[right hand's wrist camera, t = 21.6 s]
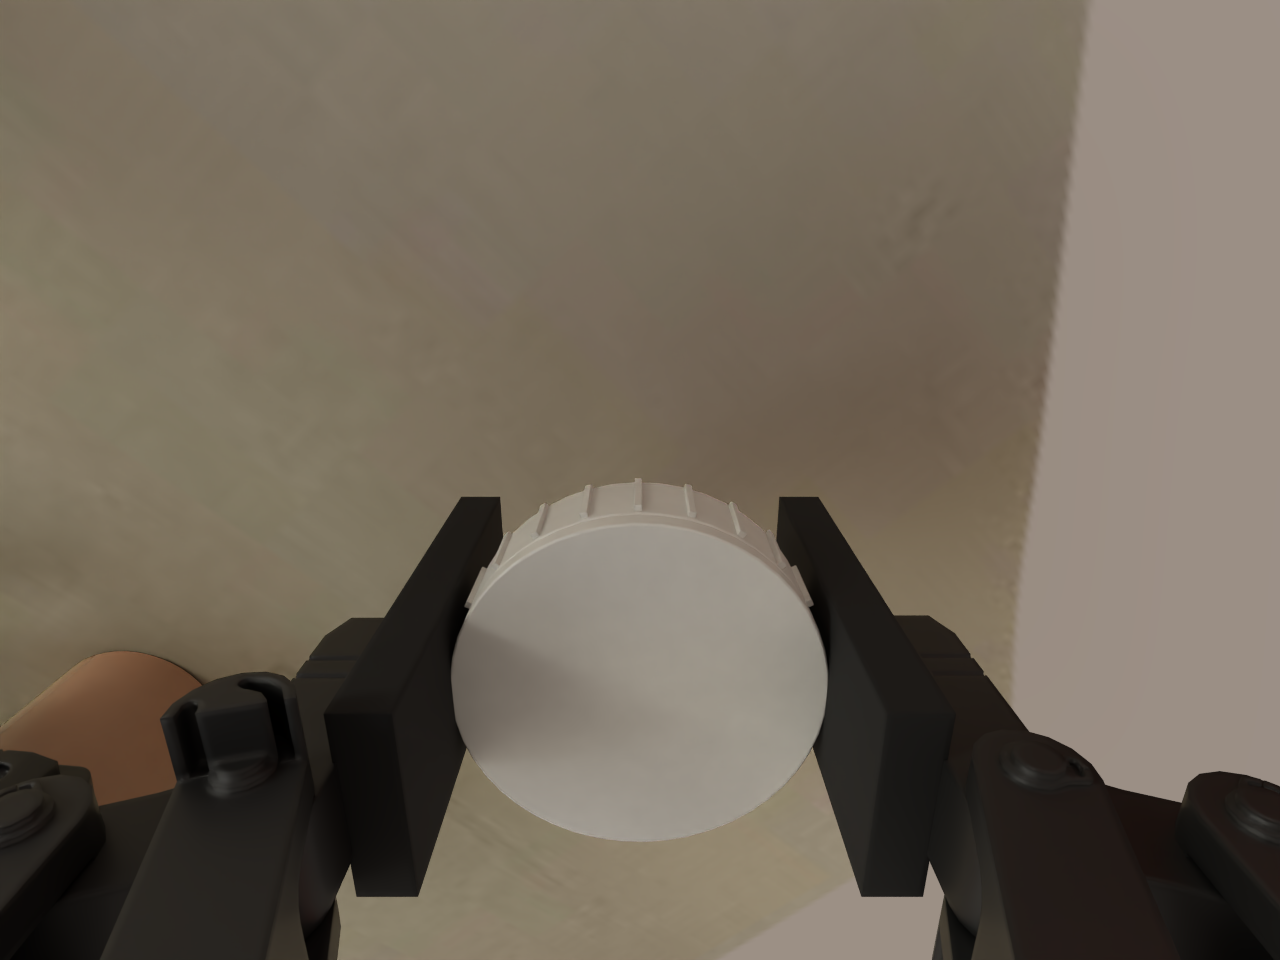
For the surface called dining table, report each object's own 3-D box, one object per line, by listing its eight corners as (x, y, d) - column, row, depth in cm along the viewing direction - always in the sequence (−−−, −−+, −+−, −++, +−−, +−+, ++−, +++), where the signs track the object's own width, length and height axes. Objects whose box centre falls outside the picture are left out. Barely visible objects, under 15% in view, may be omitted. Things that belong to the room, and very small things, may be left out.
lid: (855, 707, 12) (884, 777, 11) (561, 811, 13) (550, 889, 12) (736, 420, 11) (752, 454, 9) (406, 558, 12) (370, 611, 10)
